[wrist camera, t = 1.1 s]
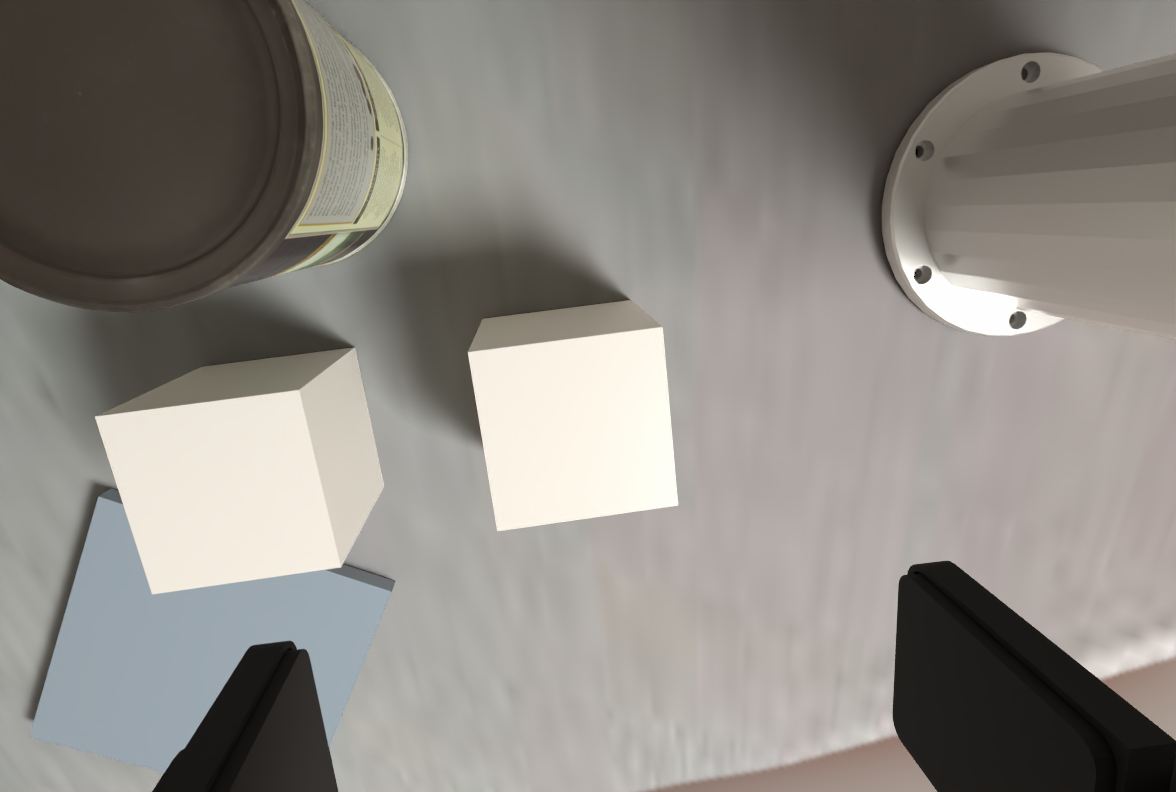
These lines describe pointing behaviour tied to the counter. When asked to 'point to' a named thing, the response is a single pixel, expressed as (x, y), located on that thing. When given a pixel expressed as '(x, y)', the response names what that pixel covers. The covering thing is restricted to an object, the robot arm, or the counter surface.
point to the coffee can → (185, 148)
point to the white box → (246, 469)
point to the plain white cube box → (574, 413)
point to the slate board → (187, 645)
